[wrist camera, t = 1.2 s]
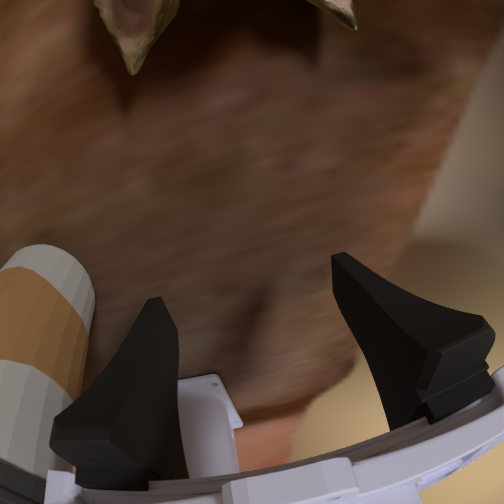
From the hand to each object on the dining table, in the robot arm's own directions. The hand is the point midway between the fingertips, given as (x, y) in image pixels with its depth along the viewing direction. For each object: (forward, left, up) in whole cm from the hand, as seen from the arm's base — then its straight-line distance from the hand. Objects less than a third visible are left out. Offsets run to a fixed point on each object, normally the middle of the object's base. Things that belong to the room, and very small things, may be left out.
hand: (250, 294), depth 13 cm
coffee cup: (0, +12, -5) cm, 13 cm away
